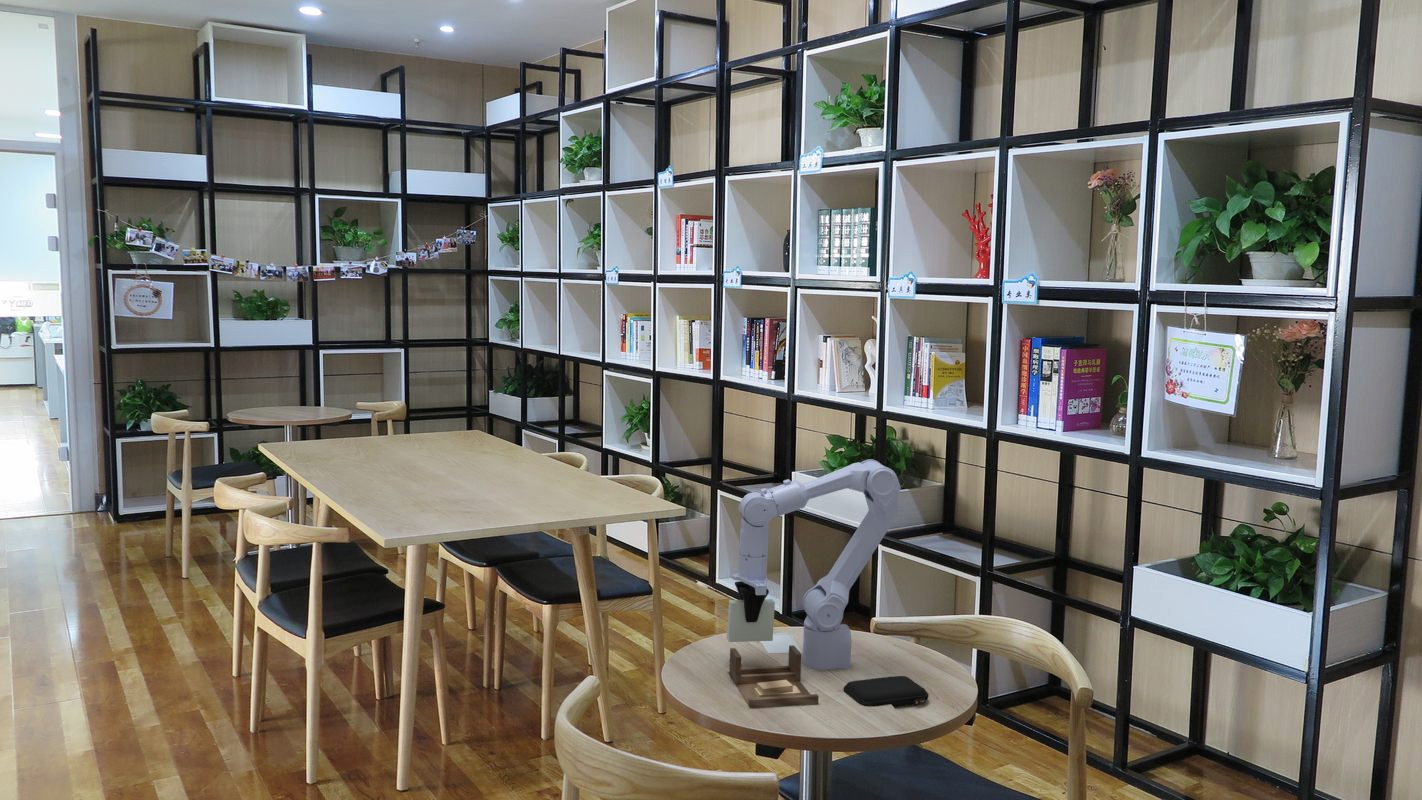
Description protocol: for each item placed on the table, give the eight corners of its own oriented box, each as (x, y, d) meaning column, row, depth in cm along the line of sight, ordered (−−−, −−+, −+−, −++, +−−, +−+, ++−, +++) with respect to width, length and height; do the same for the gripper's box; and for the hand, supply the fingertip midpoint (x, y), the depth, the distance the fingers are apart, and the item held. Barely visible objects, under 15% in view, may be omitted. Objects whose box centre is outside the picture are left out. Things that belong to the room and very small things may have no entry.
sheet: (769, 637, 217) (772, 599, 216) (772, 640, 215) (774, 602, 214) (726, 638, 215) (728, 600, 214) (729, 642, 213) (731, 603, 212)
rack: (789, 673, 215) (791, 641, 214) (818, 709, 197) (819, 675, 196) (726, 676, 212) (727, 644, 211) (749, 713, 194) (751, 679, 194)
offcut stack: (795, 691, 203) (795, 679, 202) (801, 699, 199) (801, 686, 199) (754, 693, 201) (754, 681, 201) (759, 701, 197) (760, 689, 197)
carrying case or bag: (866, 716, 195) (935, 708, 200) (866, 700, 195) (936, 692, 200) (839, 694, 205) (906, 687, 210) (840, 679, 205) (907, 672, 210)
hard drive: (805, 652, 224) (790, 632, 236) (767, 653, 222) (754, 632, 235) (804, 659, 224) (790, 639, 236) (766, 660, 223) (753, 640, 235)
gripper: (725, 544, 219) (722, 608, 221) (742, 563, 205) (739, 632, 207) (758, 544, 221) (755, 608, 222) (778, 563, 207) (774, 631, 208)
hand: (749, 619), depth 215 cm, fingers closed on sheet, 2 cm apart
